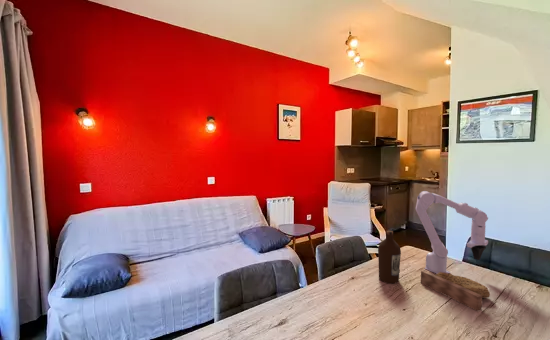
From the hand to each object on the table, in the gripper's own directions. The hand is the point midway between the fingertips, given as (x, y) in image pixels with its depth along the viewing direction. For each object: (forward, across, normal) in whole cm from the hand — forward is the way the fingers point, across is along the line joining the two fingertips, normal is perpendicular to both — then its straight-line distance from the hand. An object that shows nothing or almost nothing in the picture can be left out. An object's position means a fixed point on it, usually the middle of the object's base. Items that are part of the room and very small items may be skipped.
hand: (476, 259), depth 138 cm
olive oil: (+10, -44, +16) cm, 48 cm away
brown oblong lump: (+10, -22, -6) cm, 25 cm away
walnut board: (+9, -31, -6) cm, 33 cm away
